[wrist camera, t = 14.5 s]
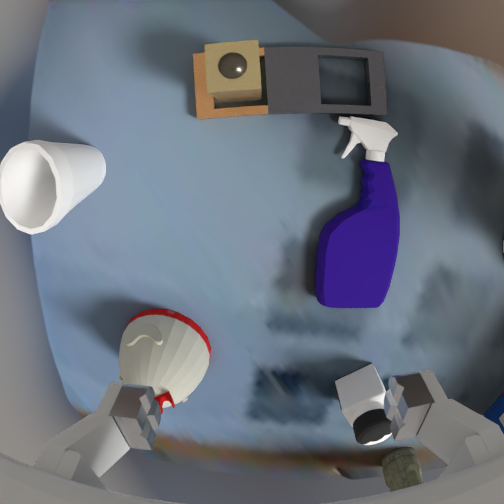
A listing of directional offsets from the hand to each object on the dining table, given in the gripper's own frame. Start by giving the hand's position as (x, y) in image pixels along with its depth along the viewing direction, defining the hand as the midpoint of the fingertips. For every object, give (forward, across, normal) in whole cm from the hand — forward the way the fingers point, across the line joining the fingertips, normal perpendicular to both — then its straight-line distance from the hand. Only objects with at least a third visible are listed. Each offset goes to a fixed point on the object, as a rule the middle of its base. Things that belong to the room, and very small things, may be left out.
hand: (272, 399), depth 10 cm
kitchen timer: (+31, +16, +22) cm, 42 cm away
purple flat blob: (+32, -12, +3) cm, 34 cm away
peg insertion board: (+31, -4, -14) cm, 34 cm away
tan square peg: (+31, +2, -14) cm, 34 cm away
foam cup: (+31, +23, -6) cm, 39 cm away
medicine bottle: (+31, -15, +32) cm, 47 cm away
